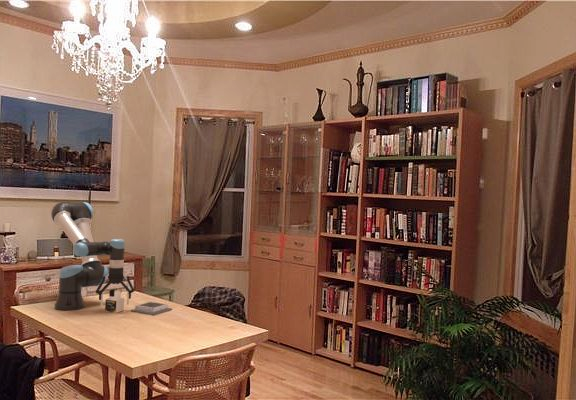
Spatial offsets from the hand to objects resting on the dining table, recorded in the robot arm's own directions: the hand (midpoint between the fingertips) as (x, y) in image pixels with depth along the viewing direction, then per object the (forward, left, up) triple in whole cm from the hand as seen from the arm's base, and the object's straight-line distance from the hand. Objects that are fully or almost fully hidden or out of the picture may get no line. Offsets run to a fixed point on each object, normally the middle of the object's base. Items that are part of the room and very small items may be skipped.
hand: (114, 305), depth 261 cm
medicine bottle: (0, 0, -4) cm, 4 cm away
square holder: (+16, +12, -3) cm, 20 cm away
